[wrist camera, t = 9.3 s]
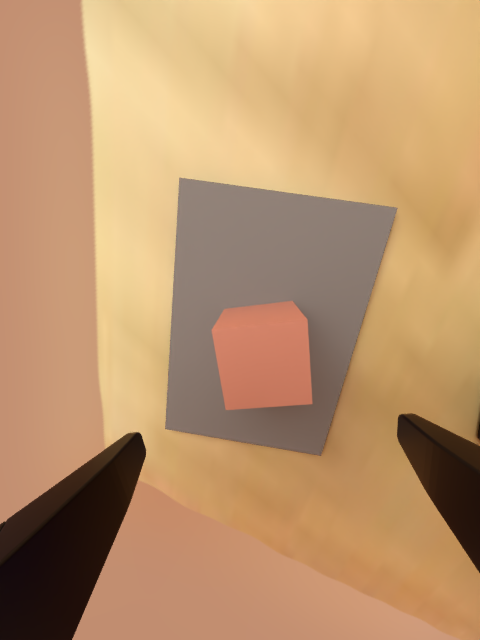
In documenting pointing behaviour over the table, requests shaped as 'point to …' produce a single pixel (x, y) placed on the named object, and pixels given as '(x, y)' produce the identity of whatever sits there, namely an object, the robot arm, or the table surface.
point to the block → (263, 356)
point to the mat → (268, 299)
